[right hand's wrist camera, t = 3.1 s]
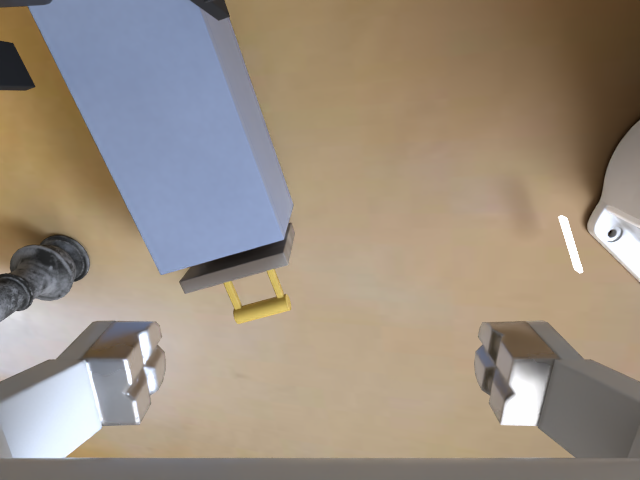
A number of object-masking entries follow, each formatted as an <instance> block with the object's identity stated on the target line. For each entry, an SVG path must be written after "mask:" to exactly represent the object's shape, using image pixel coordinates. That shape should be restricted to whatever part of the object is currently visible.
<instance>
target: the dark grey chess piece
mask: <svg viewBox="0 0 640 480" xmlns="http://www.w3.org/2000/svg"><path fill="white" fill-rule="evenodd" d="M89 266H90V262H89V257H88V254H87V252H86V251H85V249H84V248H83V247H82V246H81V245H80V244H79V243H78V242H77V241H75V240H73V239H72V238H69V237H66V236H61V235H55V236H50V237H48V238H46V239H44V240H43V241H42V242H41V244H40V245H29V246H24V247H22V248H20V249H18V250H17V251H16V252H15V253H14V254H13V256H12V259H11V261H10V270H11V273H9V274H7V273H5V274H0V322H1V321H2V320H4V319H5V318H6V317H8V316H9V315H11V314H12V313H14V312H15V311H22V310H25V309H27V308H28V307H29V306H30V305H31V304H32V302H33V299H35V298H37V299H40V300H47V301H52V300H58V299H60V298H62V297H64V296H65V295H66V294H67V293H68V292H69V291H70V289H71V287H72V284H73V282H76V281H78V280H80V279H82V278H83V277H84V276H85V275H86V274H87V272H88V270H89Z"/></svg>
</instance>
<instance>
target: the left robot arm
mask: <svg viewBox="0 0 640 480" xmlns="http://www.w3.org/2000/svg"><path fill="white" fill-rule="evenodd" d="M52 1H53V0H0V7H18V6H37V5H47V4H50V3H51V2H52ZM190 1H191V2H193V3H194V4H196V5H197V6H198V7H200V8H201V9H203V10H204V11H205V12H207V13H208V14H210V15H211V16H212V17H214V18H215V19H217V20H218V21H220V20H222V19H225V18H228V17H230V16H229V13H228V10H227V7H226V4H225V1H224V0H190ZM34 87H35V85H34V83H33V81H32V79H31V77H30V75H29V73H28V71H27V69H26V67H25V65H24V63H23V62H22V60H21V58H20V56H19V54H18V52H17V50H16V48H15V46H14V44H13V43H10V42H4V41H0V90H28V89H31V88H34Z"/></svg>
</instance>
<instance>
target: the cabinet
mask: <svg viewBox="0 0 640 480" xmlns="http://www.w3.org/2000/svg"><path fill="white" fill-rule="evenodd" d="M28 8H29V10H30V12H31V14H32V16H33V18H34V20H35V22H36V24H37V26H38V28H39V30H40V32H41V34H42V36H43V38H44V40H45V42H46V44H47V46H48V48H49V50H50V52H51V54H52V56H53V58H54V60H55V62H56V64H57V66H58V68H59V70H60V72H61V74H62V76H63V79H64V81H65V83H66V85H67V87H68V89H69V91H70V93H71V95H72V97H73V99H74V101H75V103H76V105H77V107H78V109H79V111H80V113H81V115H82V117H83V119H84V121H85V123H86V125H87V127H88V129H89V131H90V133H91V135H92V137H93V139H94V141H95V143H96V145H97V147H98V149H99V151H100V153H101V155H102V157H103V159H104V161H105V163H106V165H107V167H108V169H109V171H110V173H111V175H112V177H113V179H114V181H115V183H116V186H117V188H118V190H119V192H120V194H121V196H122V198H123V200H124V202H125V204H126V206H127V208H128V210H129V212H130V214H131V216H132V218H133V220H134V222H135V224H136V226H137V228H138V230H139V232H140V234H141V236H142V238H143V240H144V242H145V244H146V246H147V248H148V250H149V252H150V254H151V256H152V258H153V260H154V262H155V264H156V266H157V268H158V270H159V272H160V274H161V275H163V274H166V273H170V272H173V271H177V270H180V269H184V268H187V267H191V266H194V265H198V264H201V263H205V262H208V261H211V260H215V259H218V258H222V257H225V256H229V255H232V254H236V253H239V252H243V251H246V250H250V249H253V248H257V247H260V246H264V245H267V244H271V243H274V242H277V241H281V240H284V237H285V233H286V230H287V226H288V223H289V219H290V216H291V212H292V208H293V202H292V199H291V196H290V193H289V190H288V188H287V185H286V182H285V179H284V176H283V173H282V170H281V167H280V164H279V161H278V158H277V156H276V153H275V150H274V147H273V144H272V141H271V138H270V135H269V132H268V129H267V126H266V124H265V121H264V118H263V115H262V112H261V109H260V106H259V103H258V100H257V97H256V95H255V92H254V89H253V86H252V83H251V80H250V77H249V74H248V71H247V68H246V65H245V63H244V60H243V57H242V54H241V51H240V48H239V45H238V42H237V39H236V36H235V33H234V31H233V28H232V25H231V22H230V19H229V17H228V18H225V19H222V20H220V21H218V20H217V19H215V18H214V17H212V16H211V15H210V14H208V13H207V12H205V11H204V10H203V9H201V8H200V7H198V6H197V5H196V4H194V3H193V2H191V1H190V0H53V1H52V2H51V3H50V4H47V5H37V6H28Z"/></svg>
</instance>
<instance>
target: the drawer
mask: <svg viewBox="0 0 640 480" xmlns="http://www.w3.org/2000/svg"><path fill="white" fill-rule="evenodd" d="M294 235H295V231H294V229H293V226H292V223H288V226H287V230H286V233H285V237H284V240H281V241H277V242H274V243H271V244H267V245H264V246H260V247H257V248H253V249H250V250H246V251H243V252H239V253H236V254H232V255H229V256H225V257H222V258H218V259H215V260H211V261H208V262H205V263H201V264H198V265H194V266H191V267H190V269H189V270H188V271H187V272H186V274H185V275H184V276H183V278H182V279H181V280H180V285H181V287H182V289H183V291H184V293H185V294H186V293H190V292H193V291H197V290H200V289H204V288H208V287H211V286H215V285H218V284H222V283H224V286H225V288H226V290H227V293H228V295H229V297H230V299H231V302H232V304H233V306H234V311H233V314H234V319H235V321H236V323H238V324H240V323H244V322H248V321H252V320H255V319H259V318H263V317H267V316H270V315H274V314H278V313H282V312H285V311H289V310H291V303H290V299H289V297H288V295H287V294H285V295H284V293H283V290H282V288H281V285H280V282H279V280H278V277H277V275H276V272H275V269H276V268H279V267H283V266H286V265H288V263H289V258H290V254H291V249H292V244H293V240H294ZM265 271H267V273H268V276H269V278H270V281H271V283H272V286H273V288H274V291H275V293H276V296H277V297H274V298H270V299H266V300H262V301H259V302H255V303H251V304H248V305H244V306H242V305H241V302H240V300H239V298H238V295H237V293H236V291H235V288H234V286H233V284H232V281H233V280H236V279H240V278H243V277H247V276H250V275H254V274H258V273H261V272H265Z"/></svg>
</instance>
